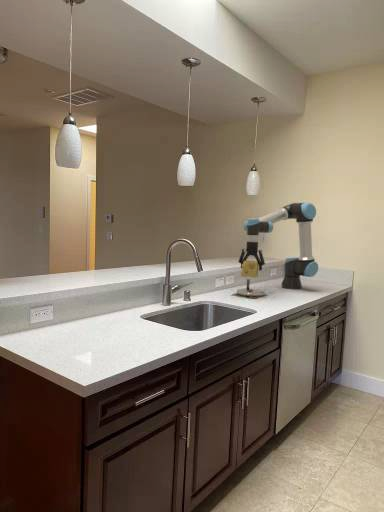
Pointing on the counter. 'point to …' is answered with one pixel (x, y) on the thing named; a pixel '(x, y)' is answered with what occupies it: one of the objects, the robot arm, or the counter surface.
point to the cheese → (250, 269)
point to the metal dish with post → (249, 291)
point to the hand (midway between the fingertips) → (250, 274)
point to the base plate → (248, 296)
